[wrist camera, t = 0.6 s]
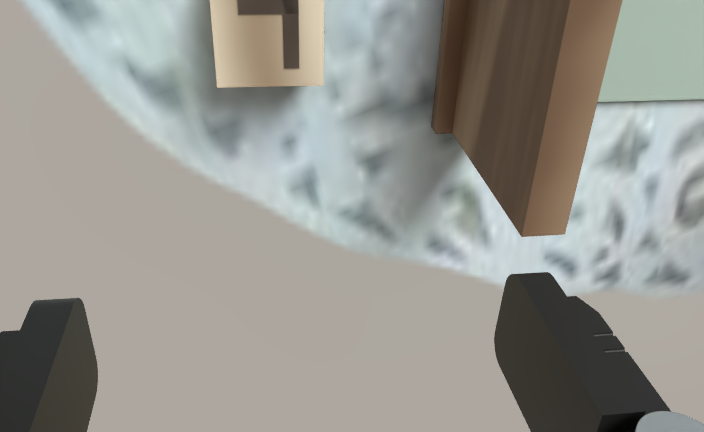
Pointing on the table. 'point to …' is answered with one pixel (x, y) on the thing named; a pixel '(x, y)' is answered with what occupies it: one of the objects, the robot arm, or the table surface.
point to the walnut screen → (524, 97)
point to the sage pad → (656, 52)
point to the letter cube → (268, 42)
